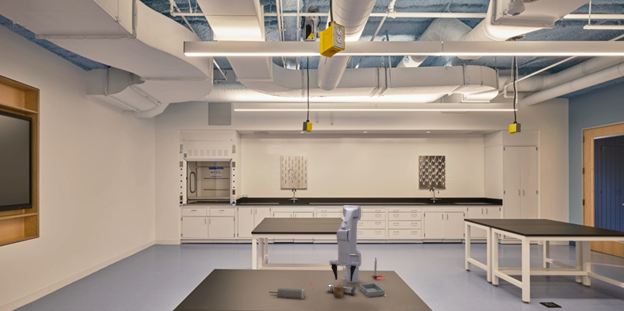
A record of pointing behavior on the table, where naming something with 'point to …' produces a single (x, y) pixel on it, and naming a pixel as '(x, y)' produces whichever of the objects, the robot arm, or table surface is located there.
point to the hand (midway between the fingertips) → (343, 279)
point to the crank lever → (345, 289)
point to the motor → (290, 292)
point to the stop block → (338, 290)
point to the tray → (371, 289)
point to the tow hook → (376, 272)
